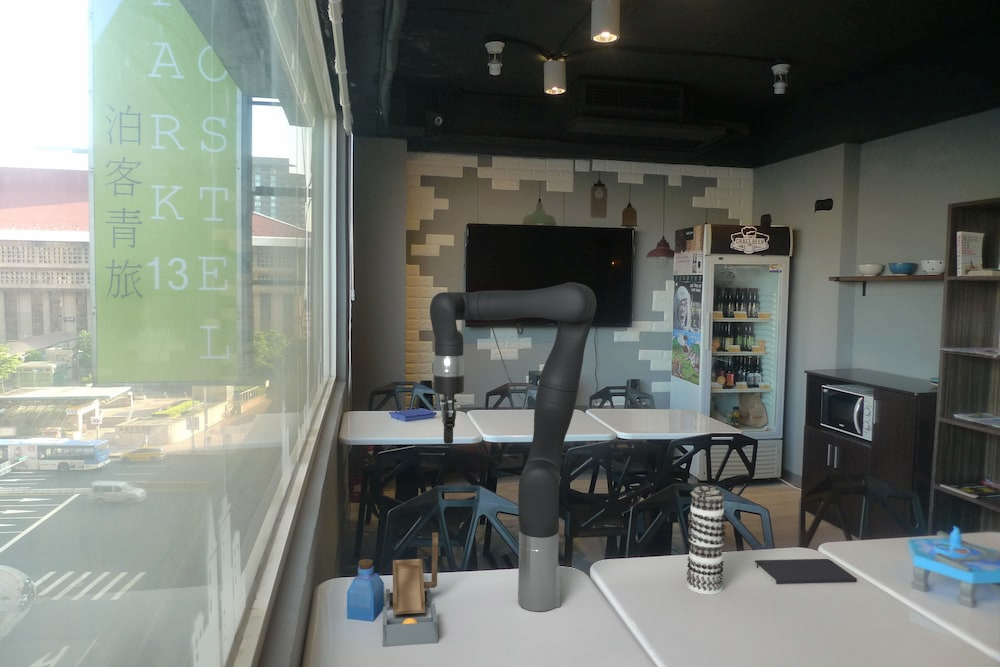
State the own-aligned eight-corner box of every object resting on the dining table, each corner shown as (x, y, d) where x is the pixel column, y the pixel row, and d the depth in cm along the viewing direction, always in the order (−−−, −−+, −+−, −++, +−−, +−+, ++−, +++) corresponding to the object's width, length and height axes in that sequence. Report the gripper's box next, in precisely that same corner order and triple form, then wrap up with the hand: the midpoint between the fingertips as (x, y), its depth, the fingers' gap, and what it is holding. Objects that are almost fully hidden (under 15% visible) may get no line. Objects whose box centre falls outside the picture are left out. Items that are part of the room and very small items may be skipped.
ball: (418, 635, 145) (418, 616, 147) (418, 636, 142) (418, 617, 143) (401, 636, 145) (401, 618, 146) (401, 637, 141) (401, 619, 143)
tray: (434, 620, 151) (434, 602, 151) (437, 642, 142) (437, 624, 141) (383, 623, 149) (383, 606, 149) (382, 646, 140) (382, 627, 140)
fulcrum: (429, 597, 162) (429, 584, 162) (430, 607, 157) (430, 593, 157) (386, 600, 161) (386, 586, 160) (386, 610, 156) (386, 596, 156)
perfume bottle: (373, 621, 150) (373, 568, 149) (347, 618, 152) (346, 565, 151) (383, 609, 156) (383, 557, 156) (358, 606, 158) (358, 555, 157)
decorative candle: (731, 593, 167) (735, 492, 165) (697, 597, 164) (700, 494, 163) (711, 578, 176) (714, 482, 174) (678, 581, 173) (681, 484, 172)
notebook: (775, 586, 172) (856, 584, 174) (776, 580, 172) (856, 578, 174) (753, 565, 185) (828, 564, 187) (753, 560, 185) (828, 558, 187)
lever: (434, 568, 168) (435, 515, 165) (439, 611, 152) (440, 554, 148) (392, 570, 166) (392, 517, 163) (392, 614, 150) (393, 556, 147)
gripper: (466, 376, 163) (466, 448, 164) (461, 370, 176) (460, 436, 177) (435, 377, 161) (434, 449, 162) (432, 370, 174) (431, 437, 176)
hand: (448, 442), depth 170 cm, fingers closed
